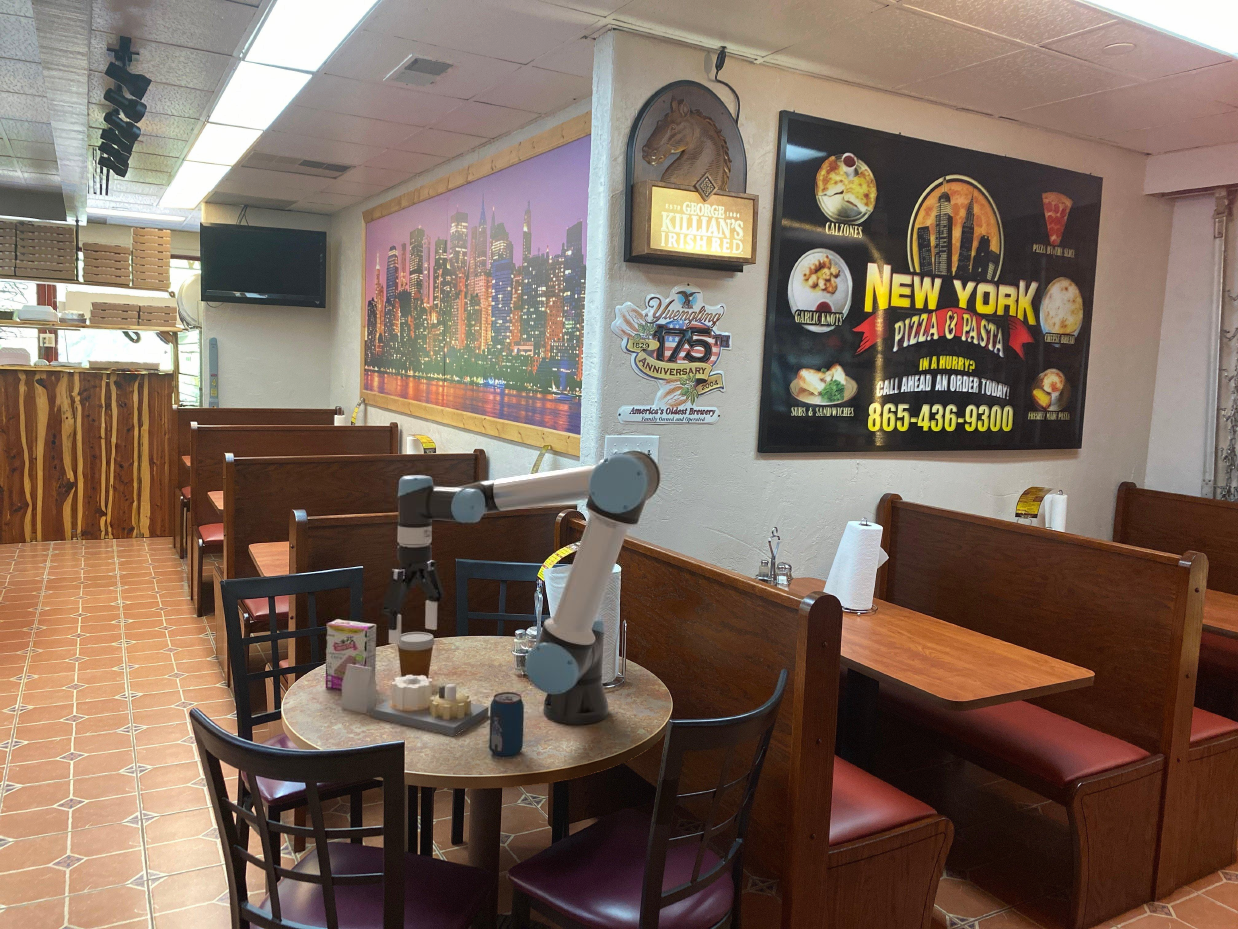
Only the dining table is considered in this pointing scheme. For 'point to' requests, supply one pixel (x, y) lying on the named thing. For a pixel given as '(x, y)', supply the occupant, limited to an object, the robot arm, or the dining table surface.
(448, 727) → the gear board
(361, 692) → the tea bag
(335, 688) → the candy bar box
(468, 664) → the dining table surface
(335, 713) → the dining table surface
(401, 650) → the disposable coffee cup
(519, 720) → the soda can
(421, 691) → the loose gear
